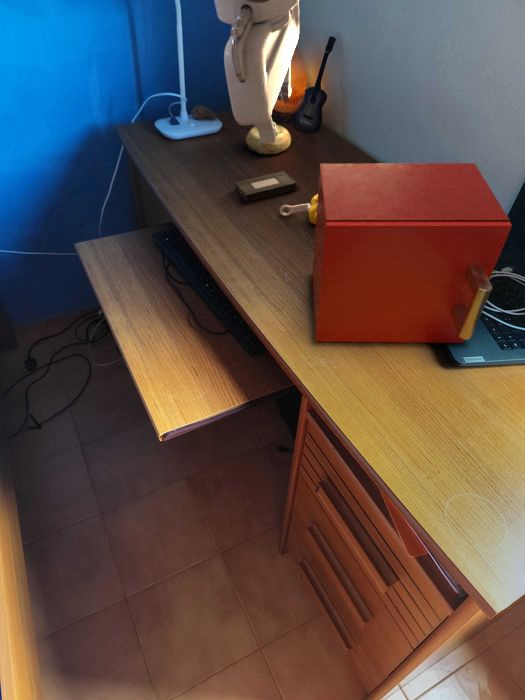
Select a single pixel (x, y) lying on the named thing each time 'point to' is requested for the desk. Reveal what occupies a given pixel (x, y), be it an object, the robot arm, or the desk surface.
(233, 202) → the desk surface
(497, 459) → the desk surface
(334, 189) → the cabinet
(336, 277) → the door
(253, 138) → the bagel
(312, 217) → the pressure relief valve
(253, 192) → the vhs tape
